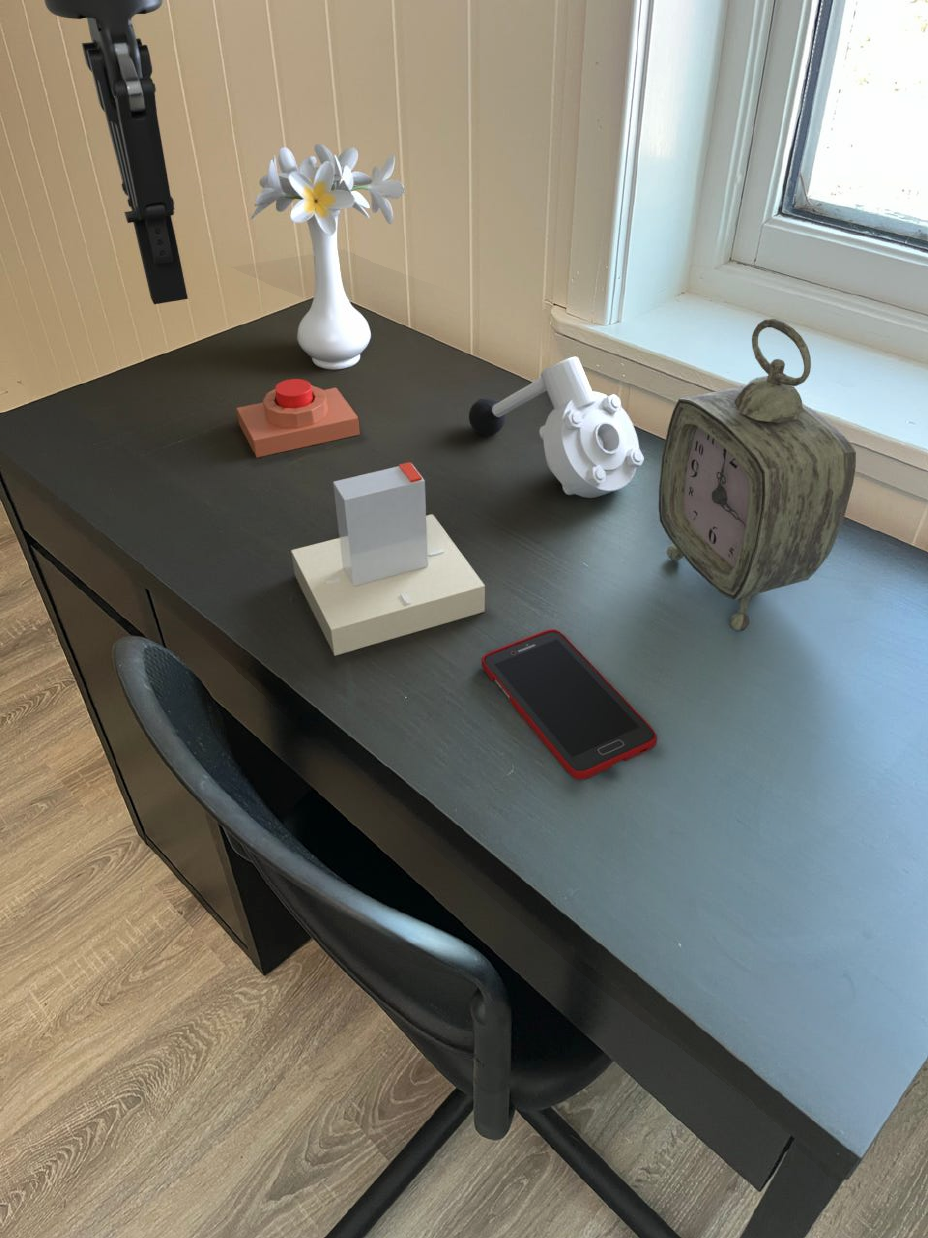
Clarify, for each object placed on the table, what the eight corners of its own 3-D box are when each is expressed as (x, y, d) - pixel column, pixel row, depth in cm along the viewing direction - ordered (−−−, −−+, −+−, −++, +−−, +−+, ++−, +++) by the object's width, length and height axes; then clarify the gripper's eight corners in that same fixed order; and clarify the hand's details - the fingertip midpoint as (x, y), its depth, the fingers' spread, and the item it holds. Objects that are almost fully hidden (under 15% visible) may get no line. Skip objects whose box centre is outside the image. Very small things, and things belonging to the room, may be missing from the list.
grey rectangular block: (353, 586, 82) (344, 497, 76) (342, 567, 84) (332, 479, 78) (428, 566, 84) (424, 477, 78) (415, 547, 86) (411, 460, 80)
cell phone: (576, 786, 69) (577, 777, 68) (477, 664, 79) (477, 656, 78) (661, 746, 72) (662, 738, 71) (555, 634, 81) (555, 625, 81)
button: (282, 412, 104) (280, 398, 103) (273, 397, 107) (270, 382, 106) (317, 405, 105) (315, 391, 104) (307, 390, 108) (305, 376, 107)
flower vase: (424, 349, 124) (417, 143, 108) (313, 397, 114) (286, 178, 98) (360, 320, 131) (344, 122, 115) (250, 363, 121) (215, 153, 105)
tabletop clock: (647, 553, 90) (686, 297, 74) (729, 532, 93) (783, 280, 76) (732, 648, 80) (798, 376, 64) (821, 623, 83) (907, 354, 66)
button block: (256, 457, 104) (251, 425, 101) (239, 424, 109) (233, 393, 107) (359, 434, 108) (357, 403, 105) (338, 403, 113) (334, 372, 110)
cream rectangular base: (334, 656, 80) (330, 628, 78) (294, 575, 88) (290, 548, 86) (485, 611, 84) (485, 584, 82) (433, 539, 92) (432, 512, 90)
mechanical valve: (594, 501, 92) (533, 356, 90) (489, 541, 106) (435, 417, 105) (660, 469, 97) (603, 333, 96) (551, 511, 112) (501, 393, 111)
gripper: (21, -68, 64) (109, 277, 79) (39, -47, 55) (135, 338, 70) (134, -74, 66) (198, 263, 82) (169, -54, 57) (234, 320, 73)
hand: (169, 297), depth 76 cm, fingers closed
